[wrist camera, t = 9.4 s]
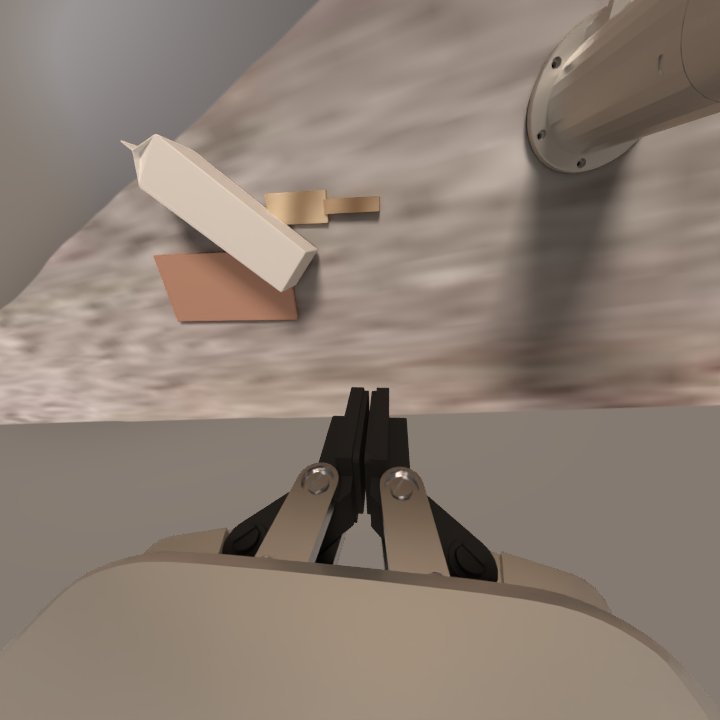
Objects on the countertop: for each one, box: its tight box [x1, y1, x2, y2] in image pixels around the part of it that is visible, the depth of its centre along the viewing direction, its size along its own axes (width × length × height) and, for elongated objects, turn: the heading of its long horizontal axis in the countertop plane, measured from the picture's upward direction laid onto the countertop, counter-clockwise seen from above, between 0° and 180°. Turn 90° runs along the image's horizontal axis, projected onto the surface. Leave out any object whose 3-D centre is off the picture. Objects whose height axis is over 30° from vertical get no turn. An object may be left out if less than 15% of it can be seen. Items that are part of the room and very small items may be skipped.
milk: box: [121, 134, 318, 292], centre depth 33 cm, size 6×6×22 cm
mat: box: [154, 252, 298, 321], centre depth 41 cm, size 10×20×1 cm, turn 93°
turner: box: [264, 190, 380, 225], centre depth 34 cm, size 15×4×1 cm, turn 92°
